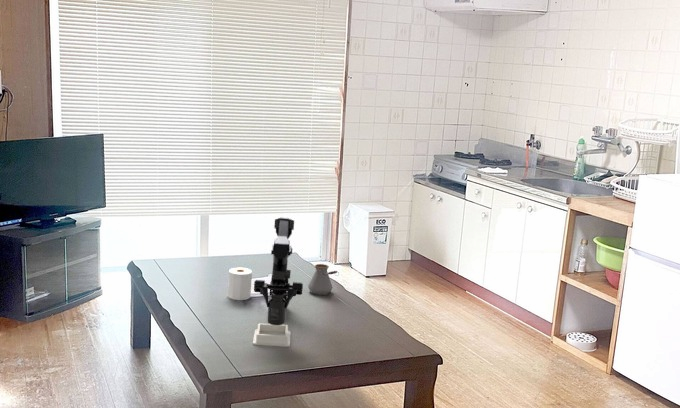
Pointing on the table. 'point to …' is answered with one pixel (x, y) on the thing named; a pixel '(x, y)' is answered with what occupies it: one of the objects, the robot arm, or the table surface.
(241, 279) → the toilet paper
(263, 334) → the holder
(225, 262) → the table surface
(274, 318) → the supplement bottle
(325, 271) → the coffee pot
